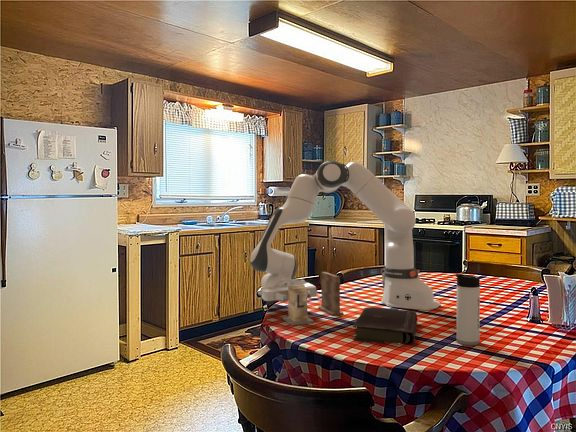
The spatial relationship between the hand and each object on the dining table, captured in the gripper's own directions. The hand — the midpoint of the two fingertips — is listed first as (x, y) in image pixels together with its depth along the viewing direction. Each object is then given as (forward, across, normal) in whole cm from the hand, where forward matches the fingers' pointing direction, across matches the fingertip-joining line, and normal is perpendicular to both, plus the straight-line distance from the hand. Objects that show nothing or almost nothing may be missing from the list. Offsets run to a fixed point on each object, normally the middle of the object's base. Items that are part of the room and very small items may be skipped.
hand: (297, 296), depth 159 cm
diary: (+22, +21, +9) cm, 32 cm away
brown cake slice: (-30, +61, +8) cm, 69 cm away
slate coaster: (0, 0, +8) cm, 8 cm away
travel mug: (+42, +36, +8) cm, 56 cm away
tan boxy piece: (0, 0, +8) cm, 8 cm away
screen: (-7, +16, +8) cm, 19 cm away
